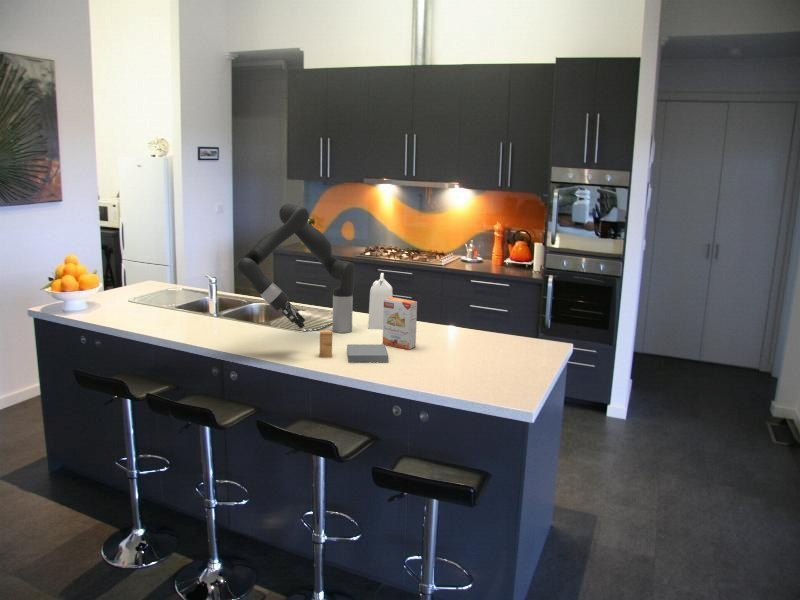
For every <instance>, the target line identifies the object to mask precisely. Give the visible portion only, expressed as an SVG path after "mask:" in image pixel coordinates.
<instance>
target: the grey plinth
mask: <svg viewBox="0 0 800 600" xmlns="http://www.w3.org/2000/svg"><path fill="white" fill-rule="evenodd" d="M346 354H347V361H348V363H369V362H371V363H373V362H374V363H376V364H377V362H378V363H380V364H381V363H382V364H383V363H387V364H388V363H389V353H388V350H387V347H386V345H385V344H383V343H382V344H375V343H374V344H373V343H372V344H370V343H368V344H362V343H361V344H360V343H359V344H354V343H353V344H348V343H347V344H346ZM374 363H373V364H374Z"/></svg>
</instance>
